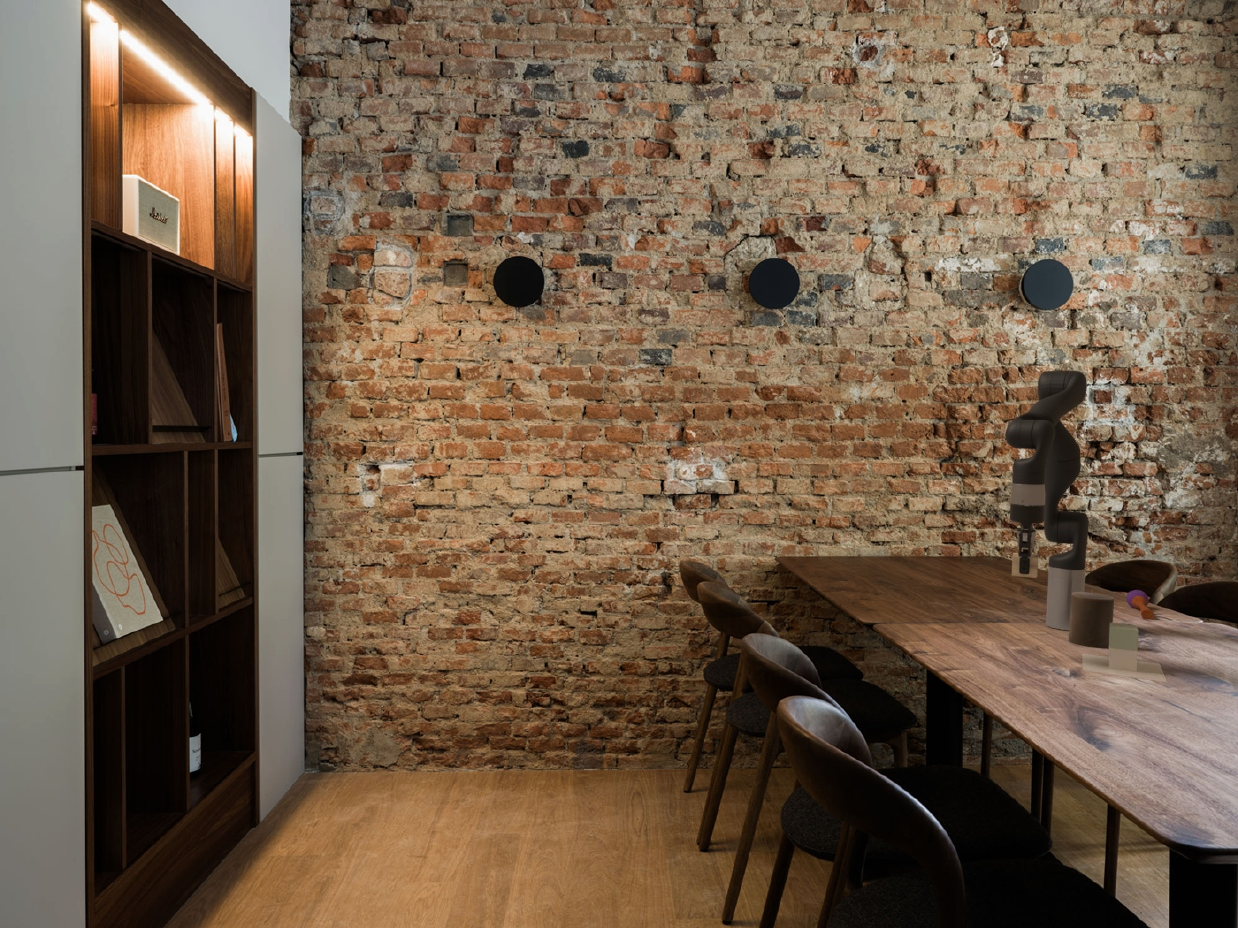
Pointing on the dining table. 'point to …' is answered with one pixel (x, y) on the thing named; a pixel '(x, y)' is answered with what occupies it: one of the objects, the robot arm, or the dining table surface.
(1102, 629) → the pillar candle
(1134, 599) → the kendama
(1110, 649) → the beige block
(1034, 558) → the maple block
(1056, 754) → the dining table surface
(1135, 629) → the sage block
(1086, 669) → the baseplate
